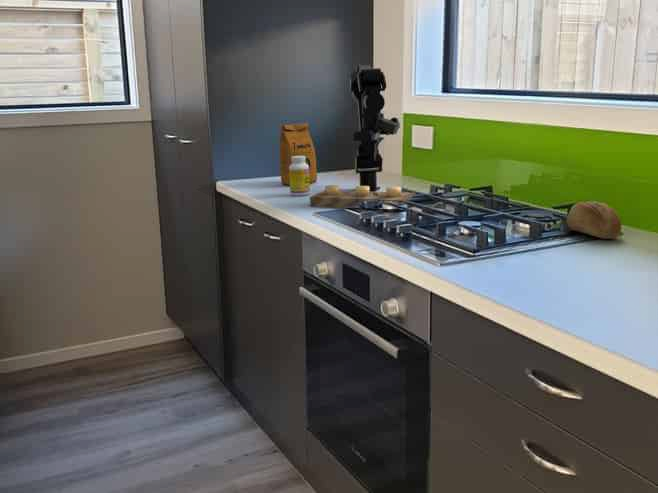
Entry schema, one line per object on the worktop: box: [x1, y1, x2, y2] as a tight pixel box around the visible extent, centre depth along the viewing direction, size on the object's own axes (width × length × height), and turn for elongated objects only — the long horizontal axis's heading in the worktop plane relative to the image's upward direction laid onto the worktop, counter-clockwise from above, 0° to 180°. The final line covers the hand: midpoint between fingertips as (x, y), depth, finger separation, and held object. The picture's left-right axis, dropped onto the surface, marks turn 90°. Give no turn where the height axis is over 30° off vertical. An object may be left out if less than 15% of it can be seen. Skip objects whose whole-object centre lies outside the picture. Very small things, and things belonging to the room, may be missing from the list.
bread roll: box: [566, 200, 622, 240], centre depth 163 cm, size 10×15×8 cm, turn 19°
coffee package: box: [278, 122, 318, 186], centre depth 251 cm, size 10×12×22 cm
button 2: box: [385, 186, 402, 197], centre depth 206 cm, size 4×4×5 cm
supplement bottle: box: [289, 156, 311, 197], centre depth 231 cm, size 7×7×13 cm
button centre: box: [354, 185, 370, 196], centre depth 210 cm, size 4×4×5 cm
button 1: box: [324, 184, 340, 195], centre depth 214 cm, size 4×4×5 cm
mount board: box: [309, 189, 417, 209], centre depth 211 cm, size 30×12×3 cm, turn 67°
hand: (372, 160), depth 217 cm, fingers closed
